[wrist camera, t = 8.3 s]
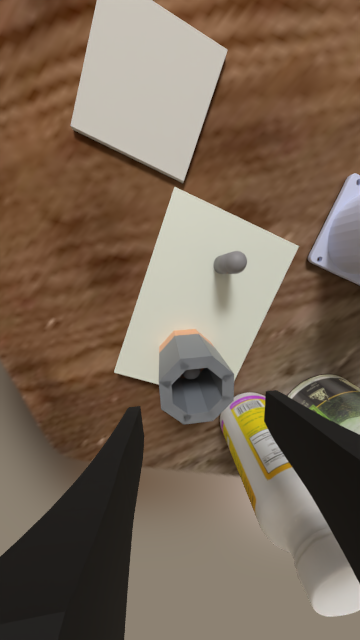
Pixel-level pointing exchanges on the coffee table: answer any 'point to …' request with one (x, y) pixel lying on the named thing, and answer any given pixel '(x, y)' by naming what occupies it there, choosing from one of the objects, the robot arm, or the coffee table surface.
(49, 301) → the coffee table surface
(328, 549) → the supplement bottle
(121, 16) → the pad
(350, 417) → the coffee can
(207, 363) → the sleeve
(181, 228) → the pin board
